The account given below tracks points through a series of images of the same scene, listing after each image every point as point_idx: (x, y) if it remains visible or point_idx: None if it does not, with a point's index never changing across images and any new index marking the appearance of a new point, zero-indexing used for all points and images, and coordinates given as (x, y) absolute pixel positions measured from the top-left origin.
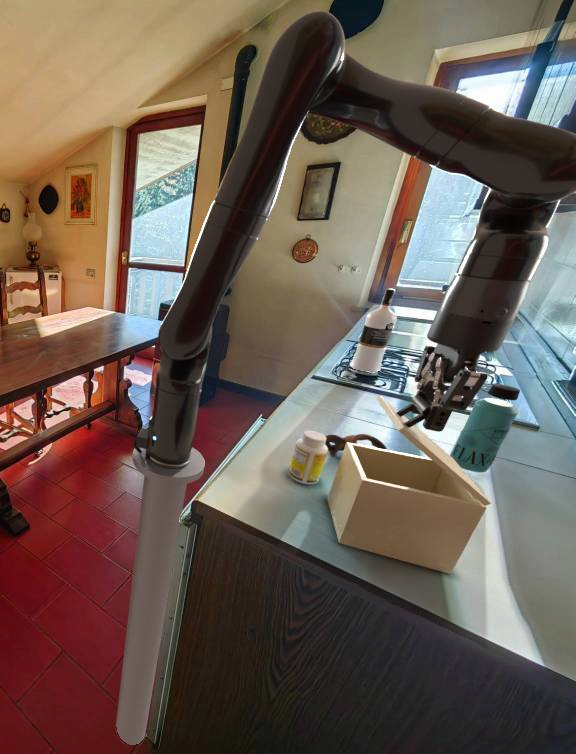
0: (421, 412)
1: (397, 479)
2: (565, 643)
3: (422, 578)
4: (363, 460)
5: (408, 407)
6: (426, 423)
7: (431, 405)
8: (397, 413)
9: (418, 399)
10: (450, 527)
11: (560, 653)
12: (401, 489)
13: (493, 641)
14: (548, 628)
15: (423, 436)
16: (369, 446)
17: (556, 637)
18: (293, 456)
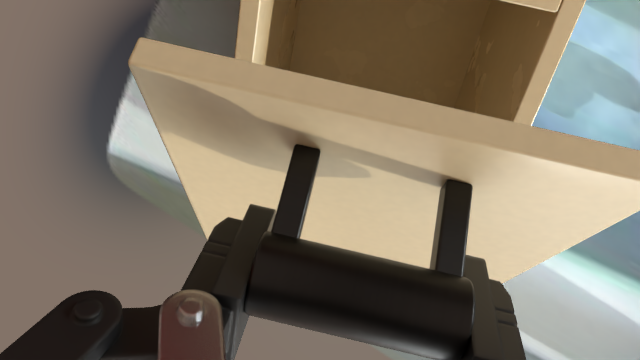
0: (283, 237)
1: None
2: (166, 210)
3: None
4: (518, 54)
5: (442, 241)
6: (243, 218)
7: (238, 292)
8: (455, 181)
9: (403, 300)
10: None
11: (142, 190)
12: (236, 51)
13: (122, 106)
14: (189, 208)
15: (405, 237)
16: (547, 85)
17: (174, 207)
18: None
